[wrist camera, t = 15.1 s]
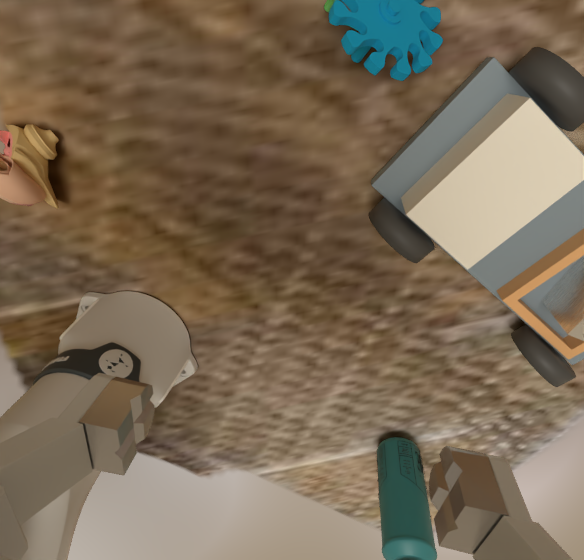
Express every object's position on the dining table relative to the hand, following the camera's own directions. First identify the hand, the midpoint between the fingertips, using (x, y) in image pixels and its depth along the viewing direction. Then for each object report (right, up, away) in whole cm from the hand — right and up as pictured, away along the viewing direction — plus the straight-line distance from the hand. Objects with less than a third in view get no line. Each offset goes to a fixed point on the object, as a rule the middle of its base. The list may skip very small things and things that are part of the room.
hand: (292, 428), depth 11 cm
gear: (+8, +27, +22) cm, 36 cm away
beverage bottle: (+16, -21, +47) cm, 54 cm away
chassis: (+25, +9, +29) cm, 39 cm away
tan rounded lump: (-29, +18, +34) cm, 48 cm away
